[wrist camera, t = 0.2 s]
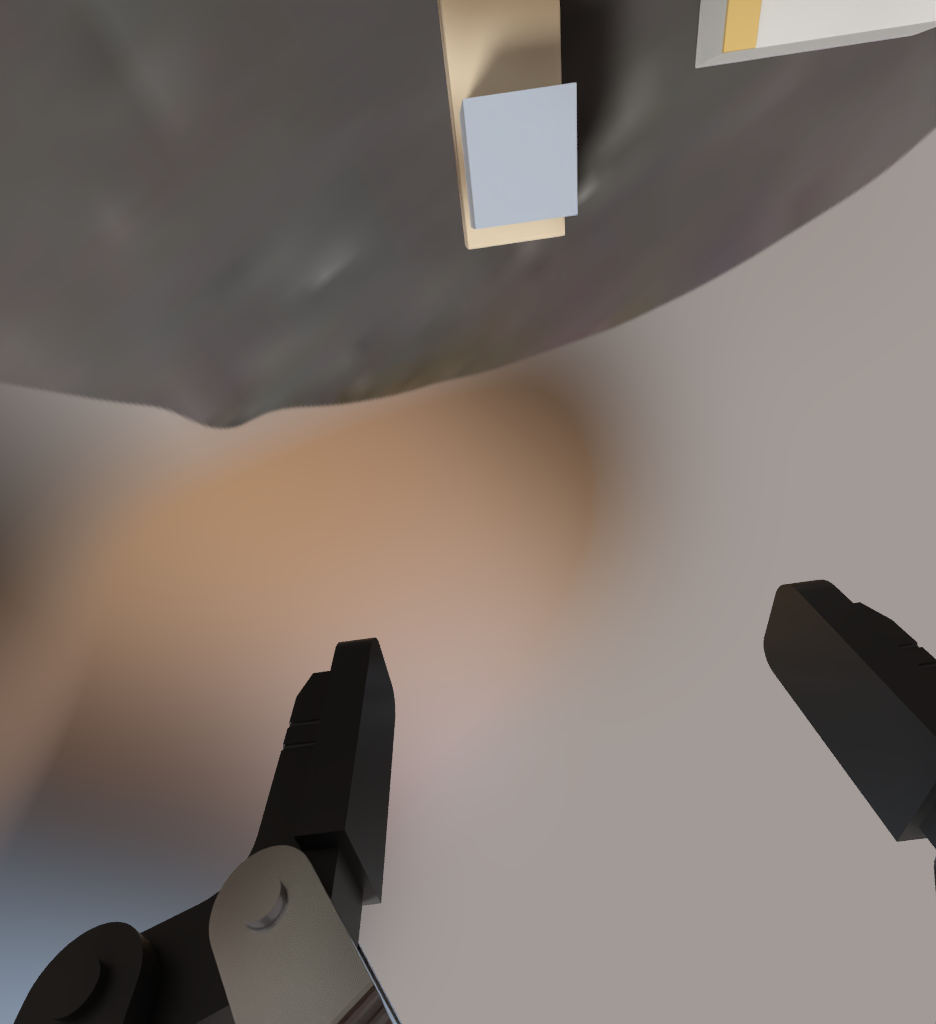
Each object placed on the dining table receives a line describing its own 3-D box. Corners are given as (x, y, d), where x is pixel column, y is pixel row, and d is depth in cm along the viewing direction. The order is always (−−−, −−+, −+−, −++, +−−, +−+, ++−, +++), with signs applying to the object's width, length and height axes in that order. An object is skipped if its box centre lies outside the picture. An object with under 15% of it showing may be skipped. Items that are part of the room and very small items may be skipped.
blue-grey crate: (459, 114, 25) (462, 98, 22) (557, 100, 25) (576, 82, 22) (470, 227, 28) (475, 229, 24) (559, 214, 28) (577, 214, 24)
